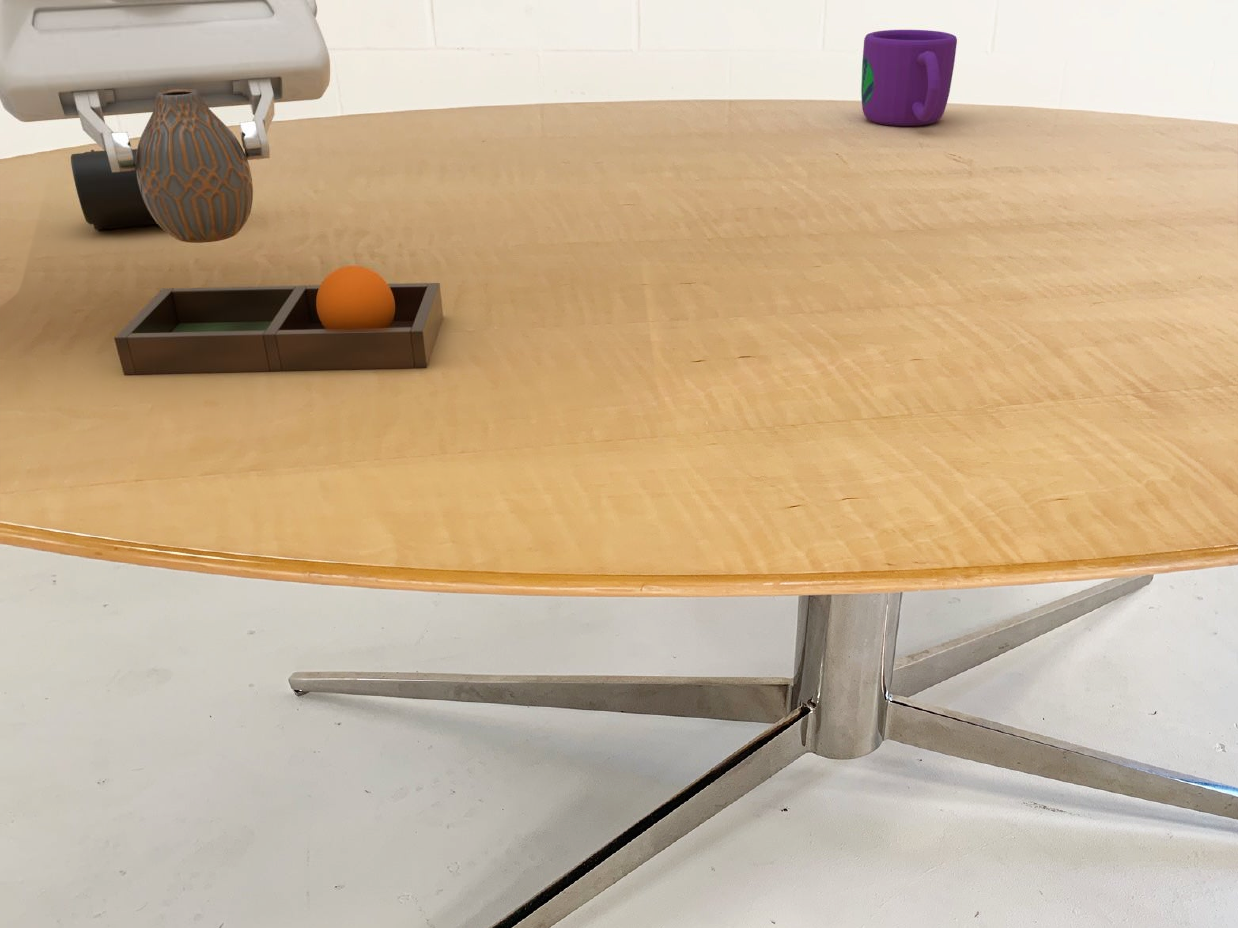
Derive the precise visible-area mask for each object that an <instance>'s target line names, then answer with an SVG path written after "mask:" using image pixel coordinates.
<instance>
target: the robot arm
mask: <svg viewBox="0 0 1238 928" xmlns="http://www.w3.org/2000/svg"><path fill="white" fill-rule="evenodd" d="M317 14H318V5H317V2H316V0H0V102H1V105H2V106H3V109H4V111H6V112H8V113H9V114H10V115H11V116H12V117H13V118H15V119H17V120H18V121H19V122H22V123H33V122H34V123H35V122H44V121H45V122H46V121H56V120H59V121H60V120H69V119H71V120H72V119H79V121H80V124H81V128H82V131H84V132H85V133H86V135H88V136H89V137H90V138H91V140H92V141H94V142H95V143H96V144H97V145H98V146H99V147H100V148H101V149H102V151H107V155H108V159H109V163H110V167H111V170H112V173H113V172H120V171H121V172H122V171H133V170H136V166H135V161H134V157H133V153H132V145H131V140H130V136H129V133H128V131H120V132H119V131H118V132H117V131H116V132H114V131H113V130H112V128H110V127H109V125H107V123H106V121H105V117H108V116H122V115H123V116H124V115H135V114H147V113H148V114H149V113H153V111H154V107H155V103H156V97H157V94H158V93H159V92H162V91H166V90H173V89H192V90H196V91H197V92H198V93H199V95H200V96H201V98H202V100H203V101H204V103H205V104H206V105H207V107H208V108H209V109H210V108H212V109H213V108H226V107H237V106H238V107H239V106H250V109H251V113H252V115H253V117H252V120H250V121H241V122H239V130H240V141H241V144H242V145H241V146H242V149H243V151H244V153H245V155H246V158H247V160H248V161H250V160H251V161H253V160H264V159H270V158H271V156H270V155H271V154H270V153H271V152H270V143H269V138H268V131H269V129H270V126H271V124H272V122H273V119H274V117H275V115H276V114H275V104H277V103H290V102H301V101H314V100H319V99H321V98H322V97H323V96H324V95H325V92H326V91H327V90H328V87H329V85H330V81H331V59H330V53H329V50H328V47H327V43H326V41H325V39H324V35H323V33H322V30H321V28H320V26H319V25H320V24H319V23H318V20H317V18H316V17H317ZM118 163H119V164H118ZM119 167H120V168H119Z"/></svg>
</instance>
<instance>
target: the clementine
mask: <svg viewBox="0 0 1238 928" xmlns="http://www.w3.org/2000/svg"><path fill="white" fill-rule="evenodd" d="M388 284H389V283H388V282H387V281H386V280H385V279H384V278H383V277H382V275H380V274H378V273H377V272H376V271H374V270H372V269H370V268H368V267H365V266H361V265H347V266H342V267H339V268H337V269H335V270H333V271H331V272H330V273H329V274H328V275H327V276H326V277H324V279H323V280H322V282H321V283H320V284H319V285H320V287H319V290H318V293H317V298H316V307H317V313H318V316H319V319H320V321H321V323H322V325H323V326H324V327H325V329H359V328H390V326H391V324H392V322H393V319H394V314H395V301H394V296H393V293H392V291H391V289H390V287H389V286H388Z"/></svg>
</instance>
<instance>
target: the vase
mask: <svg viewBox="0 0 1238 928" xmlns="http://www.w3.org/2000/svg"><path fill="white" fill-rule="evenodd" d="M150 115H151V116H150V117H149V119H148V121H147V123H146V125H145V127H144V129H143V132H142V133H141V135H140V138H139V141H138V144H137V148H136V149H137V155H136V173H137V180H138V184H139V188H140V192H141V195H142V198H143V200H144V203H145V205H146V207H147V209H148V211H149V212H150V214H151V216H152V217H153V218H154V220H155V221H156V223H157V224H156V225H158V226H159V227H160V228H161V229H162V231H164V232H166V234H168V235H170V236H171V237H173V238H174V239H176V240H177V241H180V242H183V243H189V244H191V243H192V244H193V243H194V244H202V243H203V244H204V243H214V242H220V241H224V240H227V239H230V238H233V237H235V236H236V235H238V234H239V233H240V231H241V230H242V229H243V227H244V226H245V224H247V221H248V219H249V218H250V215H251V211H252V208H253V202H254V201H253V200H254V185H253V177H252V173H251V172H252V171H251V167H250V163H249V160H247V158H246V155H245V150H244V148H243V146H242V145H241V143H240V141H239V140H238V139H237V137H236V135H235V134H234V133H233V131H232V130H231V129H230V128H229V127H228V126H227V125H226V124H225V123H224V122H223V121H222V120H221V119H220V118H219V117H218V116H217V115H216V113H214V112H213V111H212V110H211V109H210V108H208V107H207V105H206V104H205V103H204V101H203V100H202V98H201V96H200V95H199V93H198V92H197V91H196V90H192V89H173V90H166V91H162V92H159V93H158V94H157V97H156V103H155V107H154V111H153V112H151V114H150Z"/></svg>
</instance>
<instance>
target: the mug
mask: <svg viewBox="0 0 1238 928" xmlns="http://www.w3.org/2000/svg"><path fill="white" fill-rule="evenodd" d="M957 43H958V39H957V36H956V35H954V34H952V33H949V32H945V31H938V30H927V29H887V30H877V31H873V32H870V33H867V34H866V35H865V36H864V39H863V50H862V63H861V88H860V93H861V94H860V95H861V107H862V108H861V109H862V113H863V115H864V116H865V118H866V119H867V120H868V121H870V122H872V123H875V124H879V125H883V126H884V125H885V126H891V127H921V126H928V125H931V124H934V123H937V122H938V121H939V120H941V119H942V117H943V116H944V114H945V111H946V109H947V108H946V107H947V104H948V100H949V96H950V93H951V86H952V81H953V74H954V68H955V61H956V53H957V46H958V45H957Z"/></svg>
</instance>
